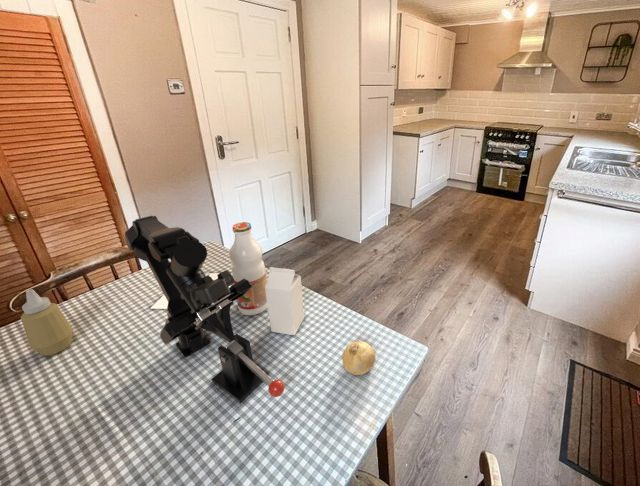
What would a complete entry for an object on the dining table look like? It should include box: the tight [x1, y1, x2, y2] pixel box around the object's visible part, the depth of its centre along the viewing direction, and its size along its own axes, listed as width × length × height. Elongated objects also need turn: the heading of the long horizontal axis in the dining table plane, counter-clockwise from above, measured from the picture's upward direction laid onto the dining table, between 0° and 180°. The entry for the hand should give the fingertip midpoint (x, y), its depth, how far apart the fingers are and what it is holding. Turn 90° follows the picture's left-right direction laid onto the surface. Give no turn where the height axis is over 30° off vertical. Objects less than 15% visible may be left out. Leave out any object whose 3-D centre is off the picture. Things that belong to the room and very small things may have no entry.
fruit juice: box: [228, 221, 268, 316], centre depth 90 cm, size 9×9×28 cm
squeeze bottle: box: [20, 288, 74, 357], centre depth 76 cm, size 8×8×18 cm
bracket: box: [211, 333, 270, 404], centre depth 69 cm, size 10×8×11 cm
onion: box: [341, 340, 376, 376], centre depth 73 cm, size 8×8×7 cm
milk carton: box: [265, 267, 305, 336], centre depth 84 cm, size 7×7×19 cm
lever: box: [226, 340, 285, 398], centre depth 65 cm, size 16×3×3 cm, turn 59°
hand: (232, 341), depth 64 cm, fingers closed
